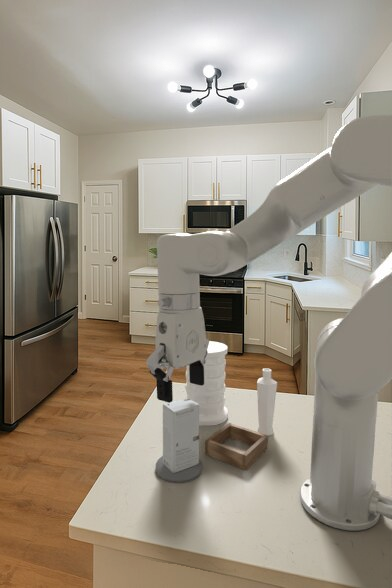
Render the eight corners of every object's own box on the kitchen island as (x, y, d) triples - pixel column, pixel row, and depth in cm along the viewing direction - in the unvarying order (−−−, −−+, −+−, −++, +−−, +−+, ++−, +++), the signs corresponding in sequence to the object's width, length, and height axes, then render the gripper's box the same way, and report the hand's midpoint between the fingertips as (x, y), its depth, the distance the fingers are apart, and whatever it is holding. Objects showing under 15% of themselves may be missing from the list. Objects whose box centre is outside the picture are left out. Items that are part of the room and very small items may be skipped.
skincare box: (173, 474, 71) (173, 412, 69) (161, 463, 74) (161, 404, 73) (200, 463, 74) (200, 404, 72) (187, 453, 78) (187, 396, 76)
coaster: (211, 465, 75) (211, 461, 75) (182, 489, 68) (182, 484, 68) (175, 450, 80) (175, 447, 80) (145, 471, 73) (145, 467, 73)
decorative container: (176, 422, 93) (176, 351, 90) (189, 403, 104) (189, 339, 101) (223, 428, 90) (225, 354, 87) (231, 408, 101) (232, 342, 99)
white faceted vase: (251, 428, 90) (252, 367, 88) (267, 426, 91) (269, 365, 89) (260, 438, 85) (262, 374, 83) (277, 435, 87) (279, 372, 85)
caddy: (267, 448, 81) (268, 435, 81) (245, 470, 73) (246, 455, 73) (229, 435, 87) (229, 422, 86) (205, 453, 79) (205, 440, 79)
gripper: (163, 310, 60) (167, 413, 62) (221, 297, 74) (223, 382, 76) (130, 307, 65) (134, 403, 67) (191, 295, 79) (193, 375, 81)
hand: (181, 391), depth 72 cm, fingers open, 9 cm apart
